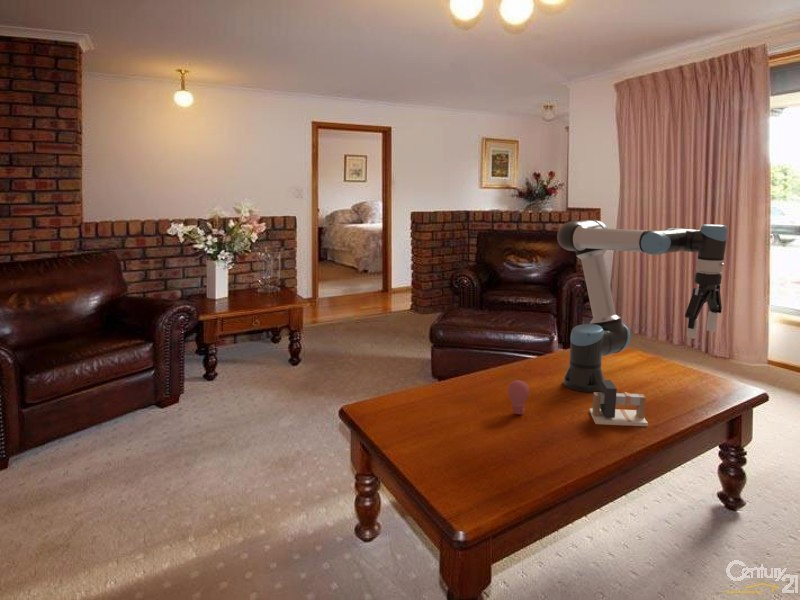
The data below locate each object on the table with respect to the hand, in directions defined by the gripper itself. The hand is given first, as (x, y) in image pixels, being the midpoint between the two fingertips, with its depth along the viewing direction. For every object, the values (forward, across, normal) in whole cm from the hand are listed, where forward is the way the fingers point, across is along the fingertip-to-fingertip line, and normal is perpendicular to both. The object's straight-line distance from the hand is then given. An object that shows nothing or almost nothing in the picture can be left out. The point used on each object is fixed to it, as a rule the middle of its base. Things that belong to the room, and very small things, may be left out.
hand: (701, 334), depth 178 cm
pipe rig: (+26, -29, +10) cm, 40 cm away
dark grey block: (+25, -31, +13) cm, 42 cm away
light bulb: (+27, -52, +33) cm, 67 cm away
